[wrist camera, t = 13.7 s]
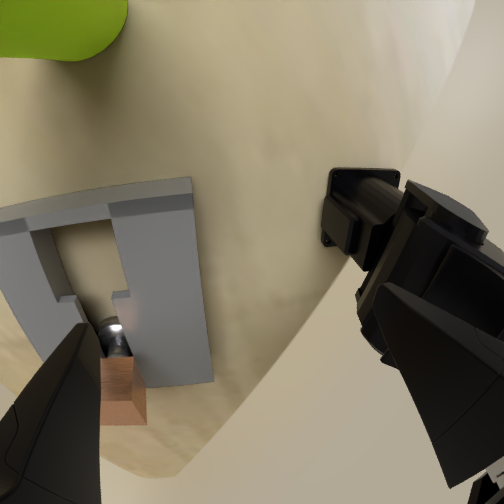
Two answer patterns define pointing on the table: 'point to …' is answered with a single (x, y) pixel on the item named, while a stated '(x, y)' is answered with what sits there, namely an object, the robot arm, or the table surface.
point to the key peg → (120, 379)
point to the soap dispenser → (59, 28)
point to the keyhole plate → (135, 269)
